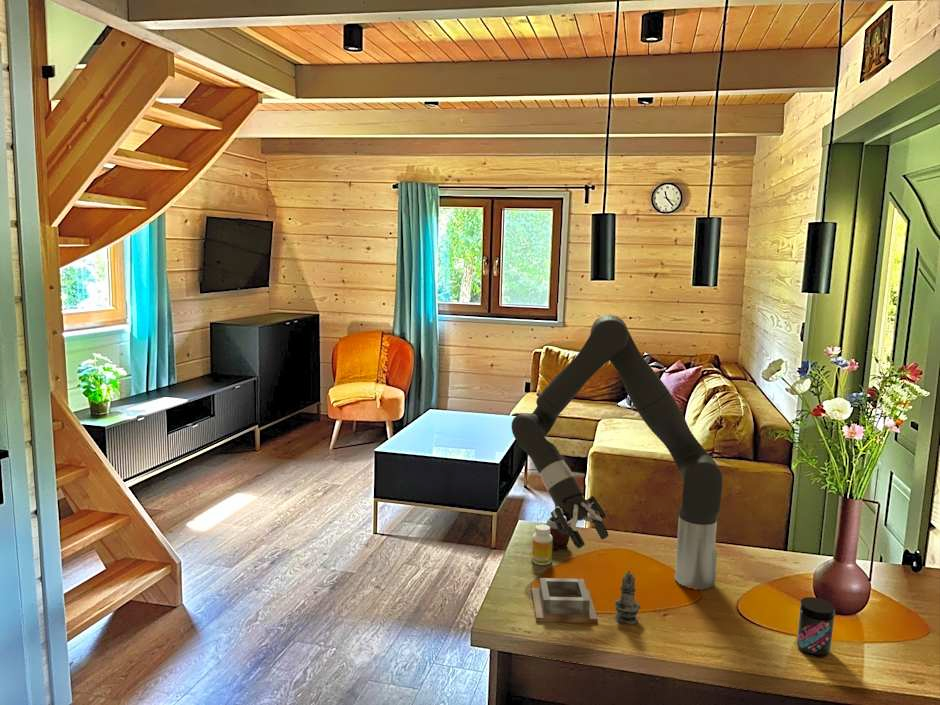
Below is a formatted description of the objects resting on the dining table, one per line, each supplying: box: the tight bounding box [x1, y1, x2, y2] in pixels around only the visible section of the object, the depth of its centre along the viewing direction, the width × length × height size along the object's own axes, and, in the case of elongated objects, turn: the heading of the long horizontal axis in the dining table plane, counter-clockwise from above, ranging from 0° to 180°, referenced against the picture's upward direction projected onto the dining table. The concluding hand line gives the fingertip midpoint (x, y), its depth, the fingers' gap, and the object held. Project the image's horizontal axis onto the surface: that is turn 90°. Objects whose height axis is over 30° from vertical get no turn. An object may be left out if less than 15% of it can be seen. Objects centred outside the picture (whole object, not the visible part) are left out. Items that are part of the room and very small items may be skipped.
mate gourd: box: [545, 504, 570, 551], centre depth 205 cm, size 8×8×15 cm
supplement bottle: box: [531, 523, 553, 566], centre depth 195 cm, size 5×5×10 cm
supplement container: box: [796, 596, 836, 658], centre depth 155 cm, size 7×7×10 cm
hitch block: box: [531, 577, 599, 624], centre depth 172 cm, size 14×14×4 cm
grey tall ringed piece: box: [614, 570, 641, 626], centre depth 166 cm, size 6×6×12 cm
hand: (593, 542), depth 173 cm, fingers open, 8 cm apart
